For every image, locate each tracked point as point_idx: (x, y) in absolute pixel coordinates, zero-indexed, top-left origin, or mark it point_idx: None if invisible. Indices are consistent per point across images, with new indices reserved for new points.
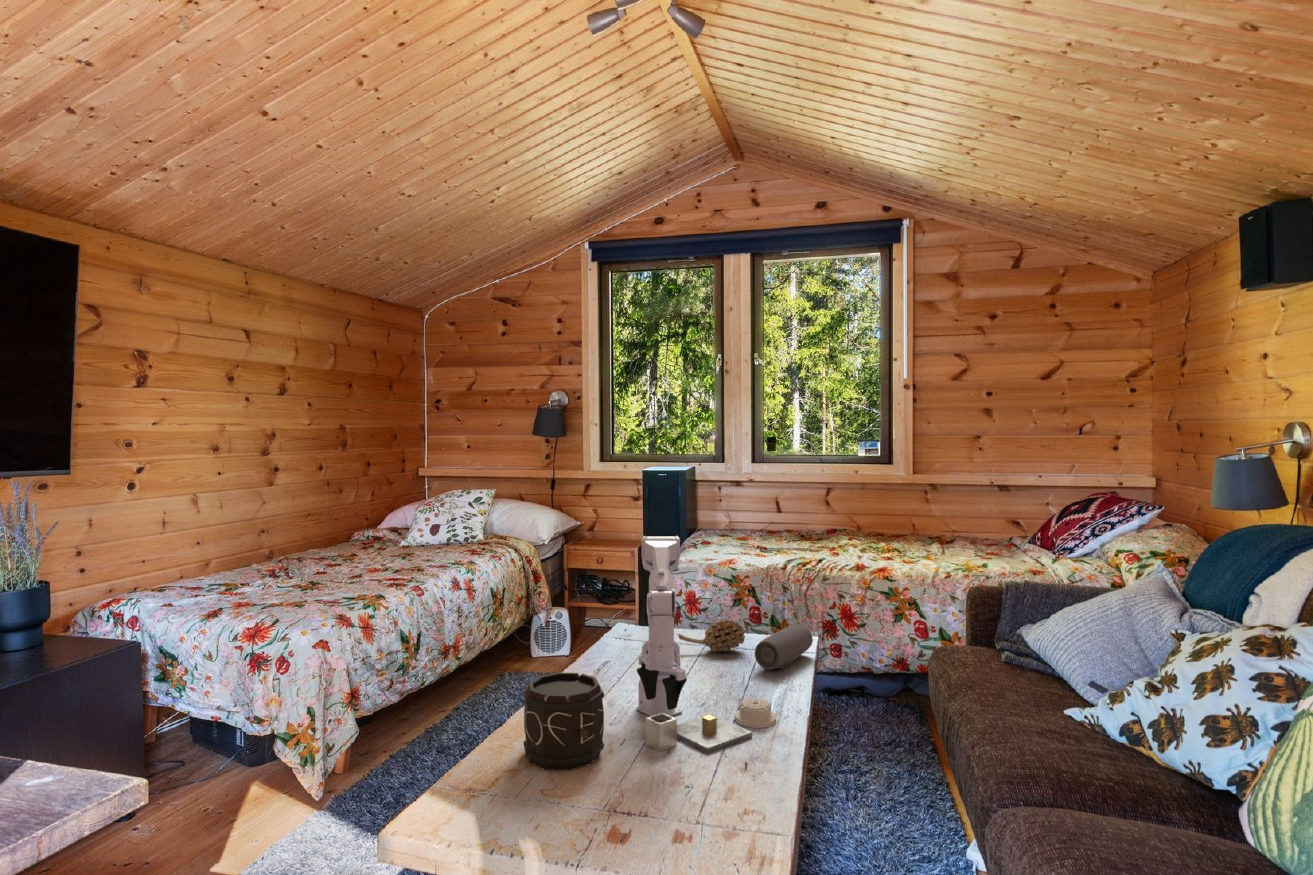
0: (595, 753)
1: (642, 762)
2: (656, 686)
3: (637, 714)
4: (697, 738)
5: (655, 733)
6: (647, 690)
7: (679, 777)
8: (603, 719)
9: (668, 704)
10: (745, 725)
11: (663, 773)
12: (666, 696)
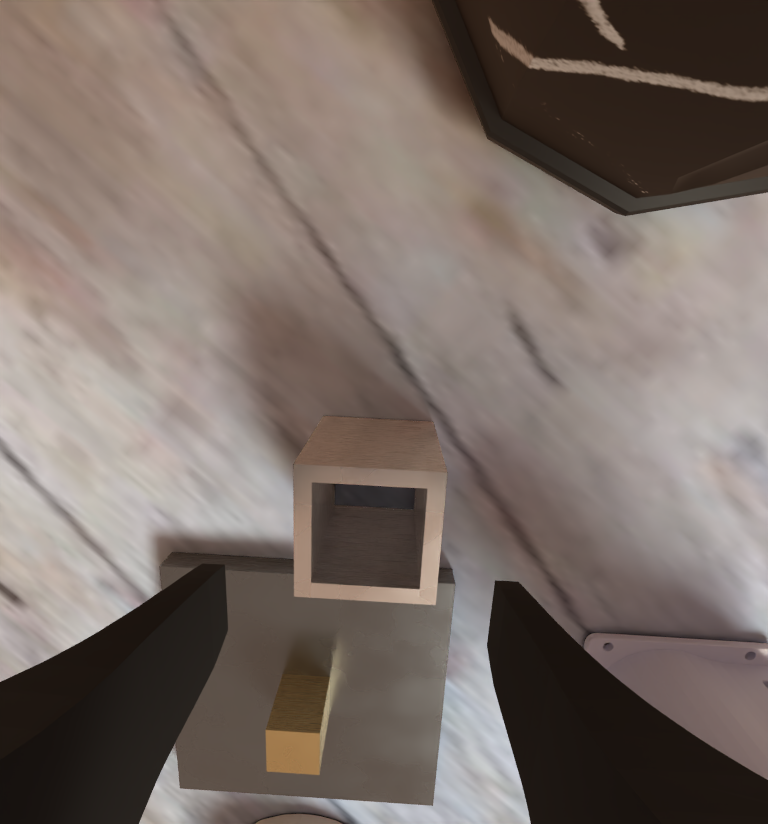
0: (434, 5)
1: (278, 268)
2: (513, 753)
3: (720, 611)
4: (269, 603)
5: (346, 441)
6: (522, 638)
7: (45, 299)
8: (540, 35)
9: (177, 582)
10: (281, 817)
11: (119, 268)
12: (153, 628)
